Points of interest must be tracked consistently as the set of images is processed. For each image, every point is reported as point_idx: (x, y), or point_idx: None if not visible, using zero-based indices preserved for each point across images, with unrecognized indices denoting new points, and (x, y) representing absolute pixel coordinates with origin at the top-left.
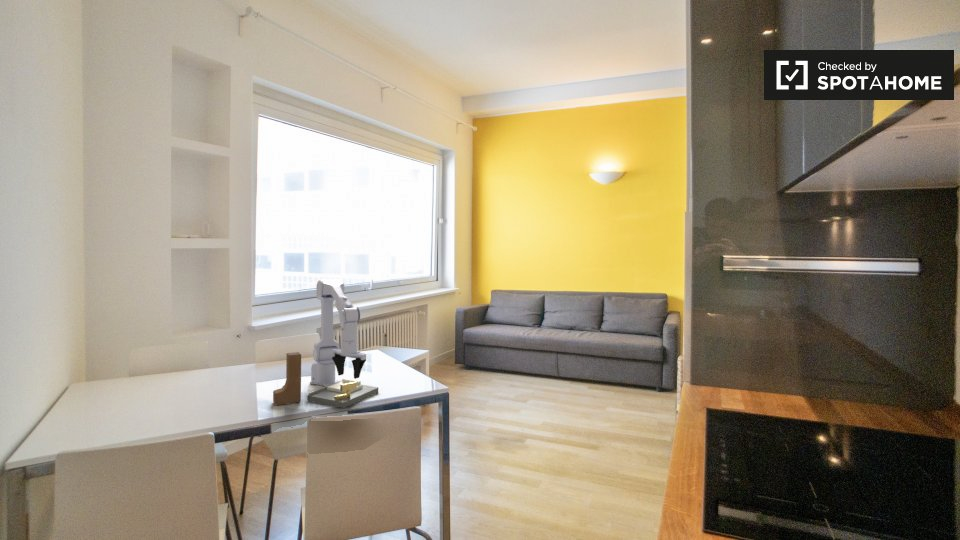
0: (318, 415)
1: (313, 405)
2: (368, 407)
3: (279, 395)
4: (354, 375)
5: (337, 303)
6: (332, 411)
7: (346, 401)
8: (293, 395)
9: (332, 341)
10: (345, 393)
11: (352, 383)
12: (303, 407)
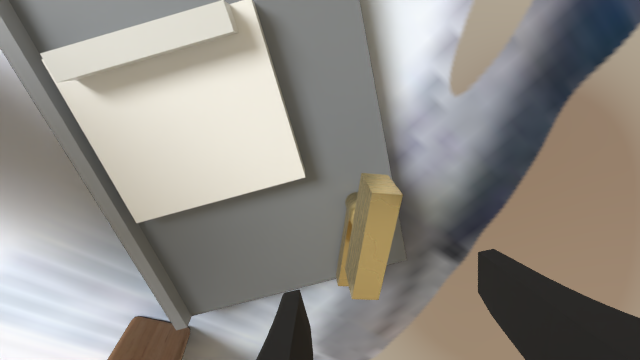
0: (383, 343)
1: (266, 308)
2: (487, 162)
3: None
4: (503, 318)
5: None
6: (390, 293)
7: (403, 245)
8: None
9: None
10: None
11: (393, 228)
12: (260, 341)
